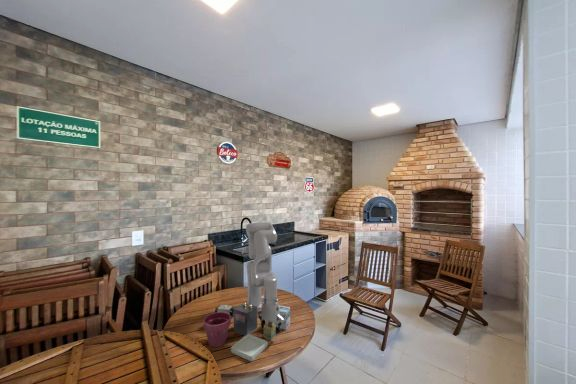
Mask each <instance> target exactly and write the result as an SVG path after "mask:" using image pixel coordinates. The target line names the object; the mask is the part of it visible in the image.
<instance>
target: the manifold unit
mask: <svg viewBox="0 0 576 384" xmlns="http://www.w3.org/2000/svg"><path fill="white" fill-rule="evenodd" d="M257 312H258V309H257V307H256V306H253V305H252V304H247V301H246V302H242V303H240V304H239V305H238V306H236V307H234V317H233V332H235V333H237V334H240V335H242V336H243V337H244V336H246V335H247V334H250V335H252V333H254V332H255V331H256V330H257V329H258V314H257Z"/></svg>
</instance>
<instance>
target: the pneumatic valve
mask: <svg viewBox="0 0 576 384" xmlns="http://www.w3.org/2000/svg"><path fill="white" fill-rule="evenodd" d="M234 308H235V307H234V305H229V304H225V305H224V304H219V305H218V306H217V307H215V310H214V313H216V312H226V313H228V314H230V316H231V320H232V319H234Z"/></svg>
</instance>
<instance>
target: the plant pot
mask: <svg viewBox="0 0 576 384" xmlns="http://www.w3.org/2000/svg"><path fill="white" fill-rule="evenodd" d="M231 324H232V319H231V316H230V314H228V313H226V312H216V313H215V312H212V313H209V314H208V315H206V316H205V317H204V319H203V330H205V334H206V335H205V336H206V339H207V342H208V345H209V346H211V347H214V348H215V347H221V346H223V345H224V344H226V341H227V337H228V332H229V330H230V329H229V328H230V325H231Z"/></svg>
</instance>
